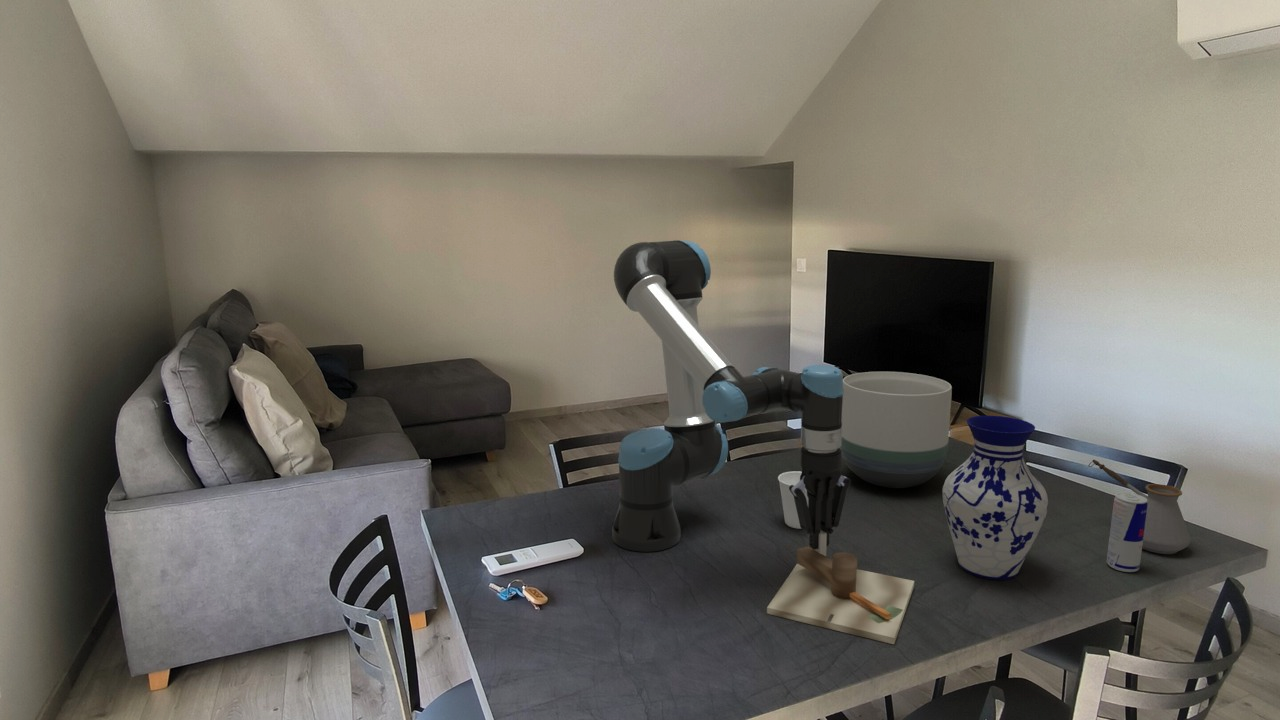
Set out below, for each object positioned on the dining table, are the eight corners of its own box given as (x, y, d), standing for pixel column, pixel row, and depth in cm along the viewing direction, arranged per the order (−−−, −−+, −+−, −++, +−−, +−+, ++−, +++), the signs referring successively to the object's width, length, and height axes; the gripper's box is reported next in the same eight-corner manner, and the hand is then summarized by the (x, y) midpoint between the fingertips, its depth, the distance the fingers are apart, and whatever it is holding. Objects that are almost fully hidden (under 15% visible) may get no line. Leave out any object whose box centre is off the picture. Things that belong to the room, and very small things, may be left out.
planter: (832, 463, 216) (836, 370, 211) (931, 467, 212) (938, 372, 207) (844, 499, 190) (849, 393, 185) (956, 503, 186) (965, 396, 181)
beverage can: (1128, 576, 149) (1137, 504, 146) (1100, 564, 154) (1108, 494, 151) (1145, 569, 152) (1154, 498, 149) (1116, 558, 157) (1125, 489, 154)
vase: (1035, 600, 141) (1051, 444, 135) (928, 574, 151) (938, 428, 145) (1044, 559, 157) (1059, 418, 151) (947, 539, 166) (957, 406, 161)
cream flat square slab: (766, 613, 137) (767, 607, 137) (801, 563, 156) (801, 557, 156) (894, 644, 127) (894, 637, 127) (914, 586, 146) (914, 580, 146)
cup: (821, 534, 170) (823, 487, 167) (775, 531, 172) (777, 484, 169) (820, 517, 179) (821, 472, 177) (777, 514, 181) (778, 469, 179)
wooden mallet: (897, 615, 133) (899, 579, 131) (879, 622, 131) (881, 585, 129) (810, 564, 152) (811, 532, 151) (793, 569, 150) (794, 537, 149)
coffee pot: (1200, 550, 160) (1210, 482, 157) (1170, 563, 155) (1180, 493, 152) (1098, 515, 178) (1105, 454, 175) (1068, 525, 173) (1075, 462, 170)
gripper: (804, 458, 139) (802, 577, 144) (861, 447, 144) (858, 563, 148) (781, 446, 146) (780, 561, 150) (836, 437, 150) (834, 548, 155)
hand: (818, 562), depth 149 cm, fingers closed
